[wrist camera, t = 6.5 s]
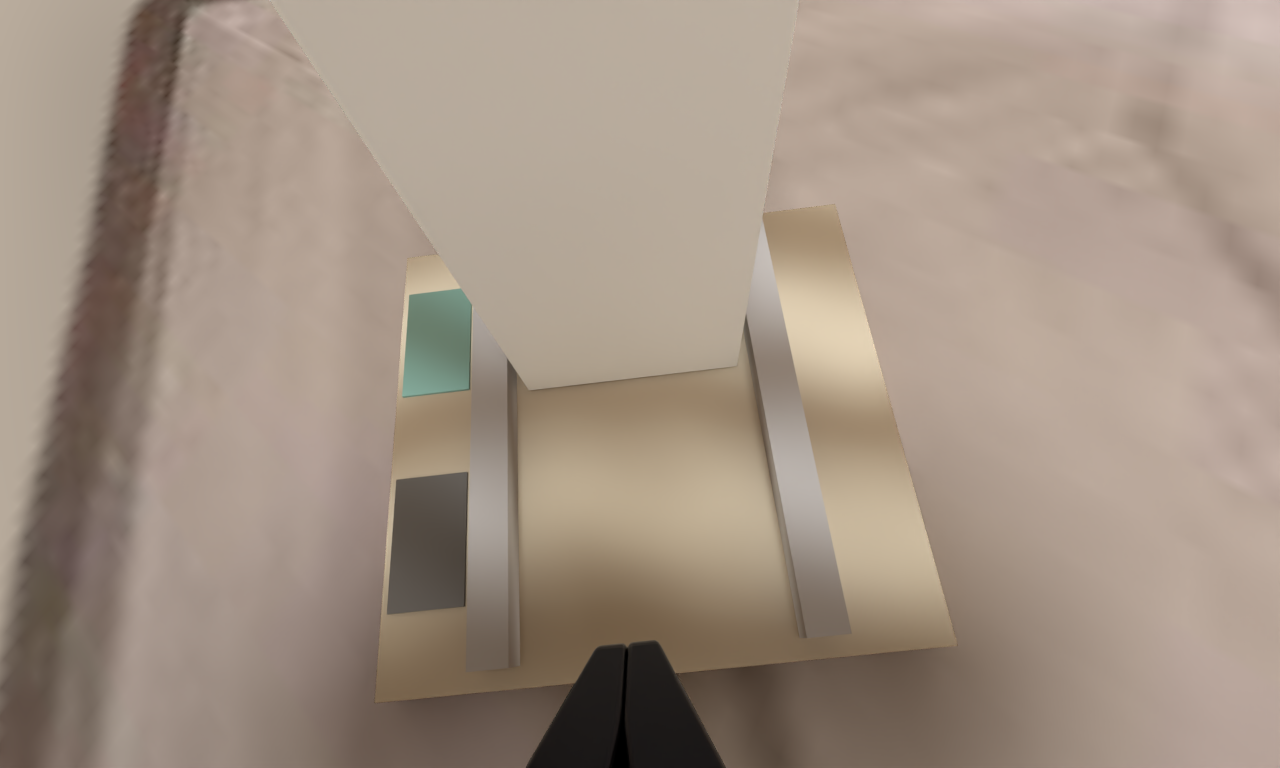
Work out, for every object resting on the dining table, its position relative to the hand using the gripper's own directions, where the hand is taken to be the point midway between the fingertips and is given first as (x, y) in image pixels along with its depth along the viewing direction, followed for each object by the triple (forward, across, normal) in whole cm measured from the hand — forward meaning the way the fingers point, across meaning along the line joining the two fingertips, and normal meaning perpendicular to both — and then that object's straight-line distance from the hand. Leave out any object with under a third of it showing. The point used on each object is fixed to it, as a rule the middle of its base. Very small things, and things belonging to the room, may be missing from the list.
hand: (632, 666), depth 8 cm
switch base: (+10, 0, +1) cm, 10 cm away
